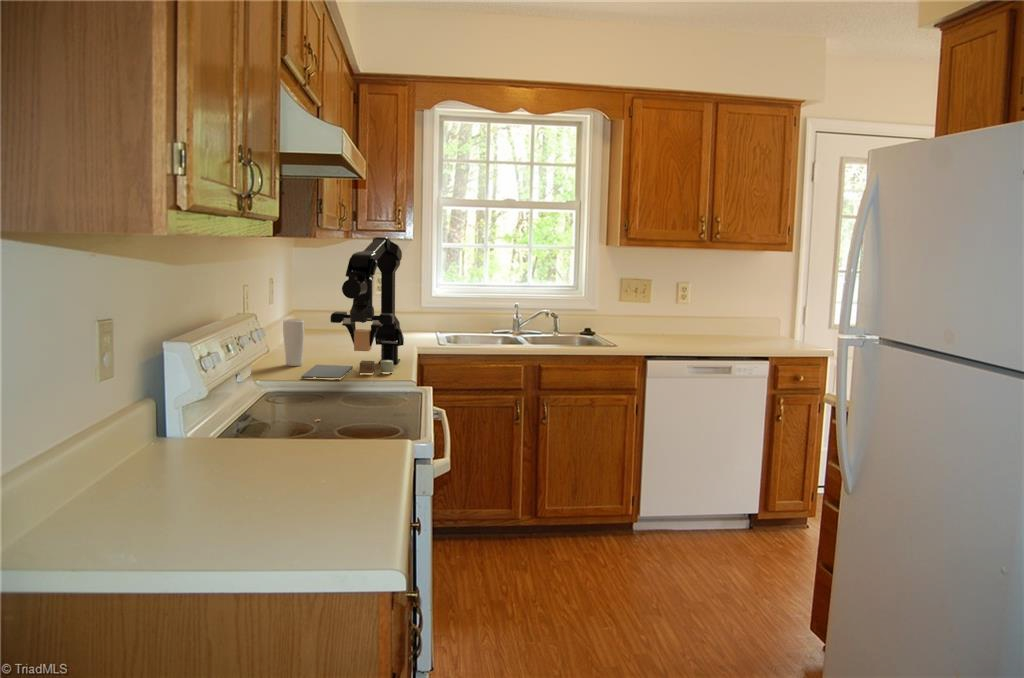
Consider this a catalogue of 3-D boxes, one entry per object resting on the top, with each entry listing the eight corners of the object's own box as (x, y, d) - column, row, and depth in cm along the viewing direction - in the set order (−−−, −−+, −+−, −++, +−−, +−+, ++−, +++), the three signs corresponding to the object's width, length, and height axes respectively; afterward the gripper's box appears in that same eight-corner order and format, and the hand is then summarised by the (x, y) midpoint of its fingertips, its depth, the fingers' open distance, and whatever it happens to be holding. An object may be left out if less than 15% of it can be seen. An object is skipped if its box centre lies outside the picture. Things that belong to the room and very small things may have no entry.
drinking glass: (282, 363, 263) (281, 319, 261) (302, 362, 266) (302, 318, 264) (285, 367, 257) (284, 322, 255) (306, 366, 260) (306, 321, 258)
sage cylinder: (381, 371, 256) (381, 359, 255) (394, 372, 256) (394, 360, 255) (379, 374, 252) (379, 362, 251) (392, 374, 252) (392, 362, 251)
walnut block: (361, 372, 254) (362, 360, 253) (374, 373, 254) (374, 360, 253) (359, 375, 250) (359, 362, 249) (372, 375, 250) (372, 363, 249)
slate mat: (316, 367, 259) (316, 364, 259) (352, 368, 259) (352, 365, 259) (301, 379, 241) (301, 376, 241) (340, 380, 241) (340, 377, 241)
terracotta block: (357, 348, 246) (357, 329, 245) (371, 348, 246) (371, 329, 245) (354, 350, 241) (354, 331, 240) (368, 351, 241) (368, 331, 240)
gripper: (326, 297, 233) (326, 349, 235) (389, 299, 233) (388, 351, 235) (334, 293, 244) (334, 343, 246) (395, 295, 244) (394, 345, 246)
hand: (362, 345), depth 243 cm, fingers closed on terracotta block, 4 cm apart
